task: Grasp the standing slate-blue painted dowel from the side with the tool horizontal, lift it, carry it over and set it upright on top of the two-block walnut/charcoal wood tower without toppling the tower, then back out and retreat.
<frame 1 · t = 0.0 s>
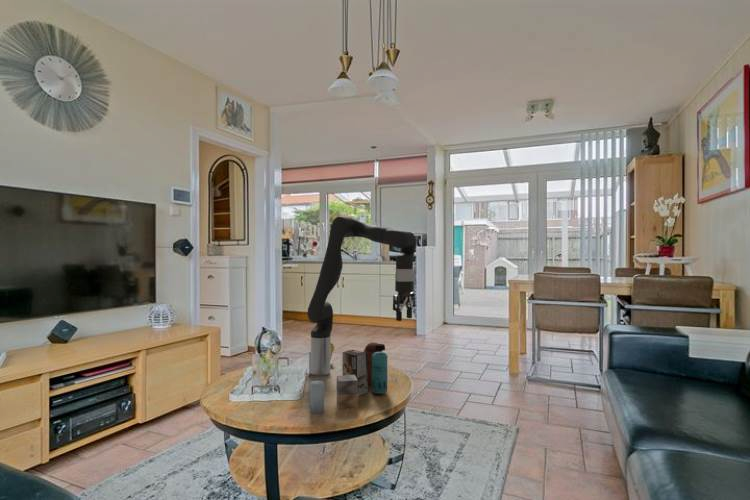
hand: (404, 319, 170), 29 cm above the table, tool pointing down, fingers open, 8 cm apart
beverage bottle: (379, 394, 165), on the table
plant pot: (323, 363, 212), on the table
tower top: (346, 391, 154), point 5 cm above the table, touching tower base
tower base: (347, 404, 154), on the table, touching tower top
wooden figurine: (373, 385, 178), on the table
dowel: (317, 410, 148), on the table
coffee box: (354, 392, 168), on the table
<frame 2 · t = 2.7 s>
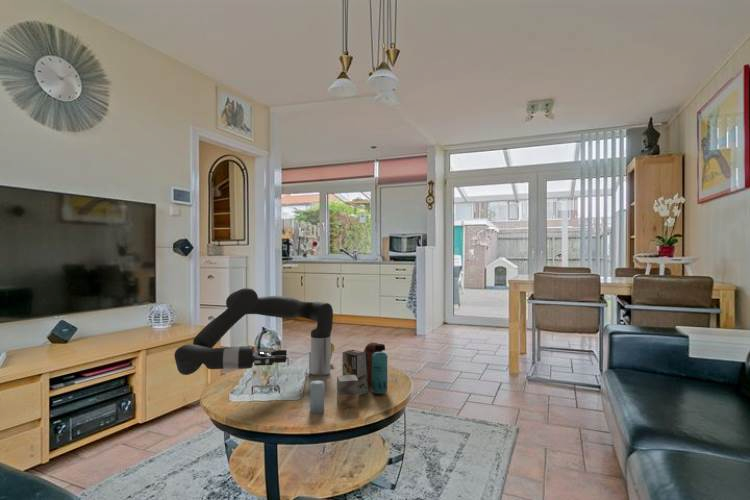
hand: (286, 355, 146), 20 cm above the table, tool horizontal, fingers open, 8 cm apart
nothing on the table moved.
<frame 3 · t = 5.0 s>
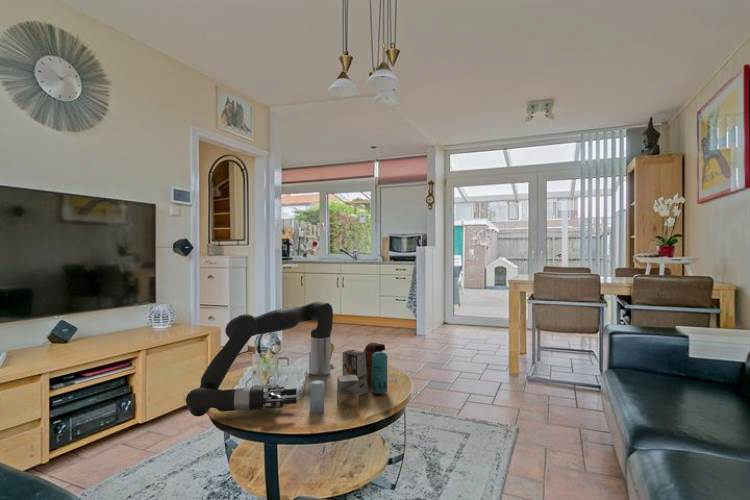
hand: (296, 395, 147), 6 cm above the table, tool horizontal, fingers open, 8 cm apart
nothing on the table moved.
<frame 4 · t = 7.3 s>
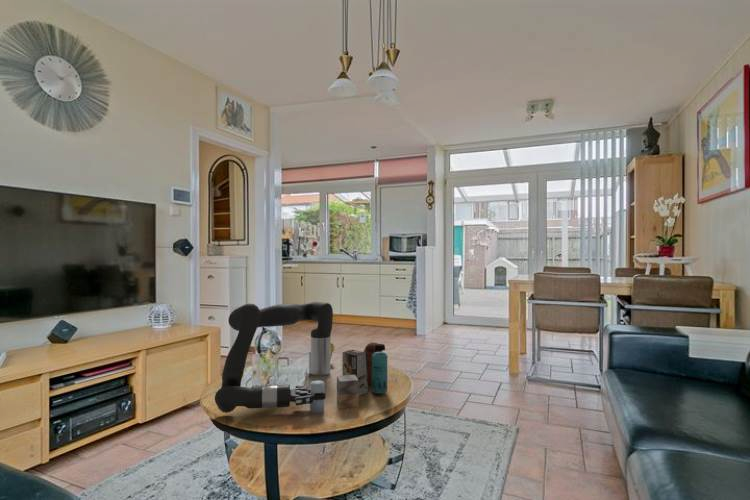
hand: (324, 393, 148), 6 cm above the table, tool horizontal, fingers closed on dowel, 5 cm apart
dowel: (317, 410, 148), on the table, touching gripper
everything else where it was.
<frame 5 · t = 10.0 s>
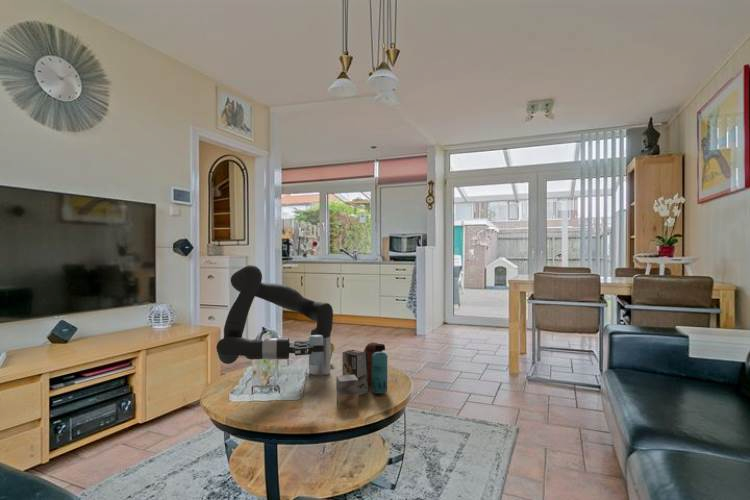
hand: (322, 346, 153), 22 cm above the table, tool horizontal, fingers closed on dowel, 5 cm apart
dowel: (315, 363, 152), point 16 cm above the table, touching gripper
everything else where it was.
when the fingers open (17 cm above the table, at t = 12.8 s): dowel drops 1 cm, resting on tower top.
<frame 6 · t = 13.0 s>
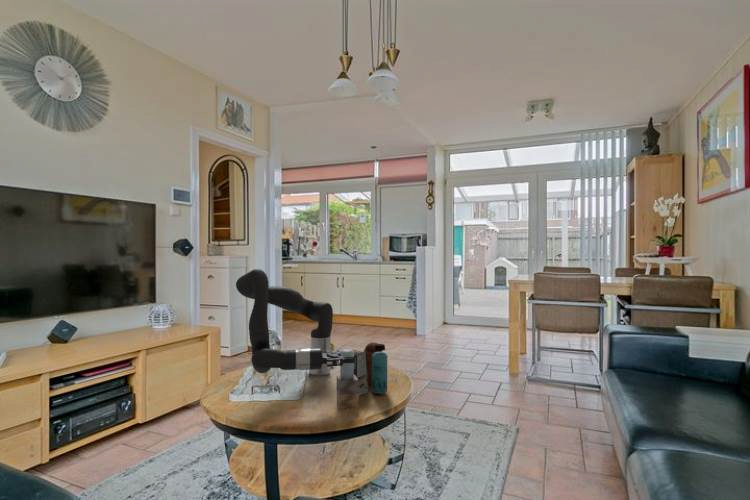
hand: (353, 357, 155), 18 cm above the table, tool horizontal, fingers open, 7 cm apart
tower top: (347, 391, 154), point 5 cm above the table, touching dowel, tower base
dowel: (347, 377, 154), point 10 cm above the table, touching tower top
everything else where it was.
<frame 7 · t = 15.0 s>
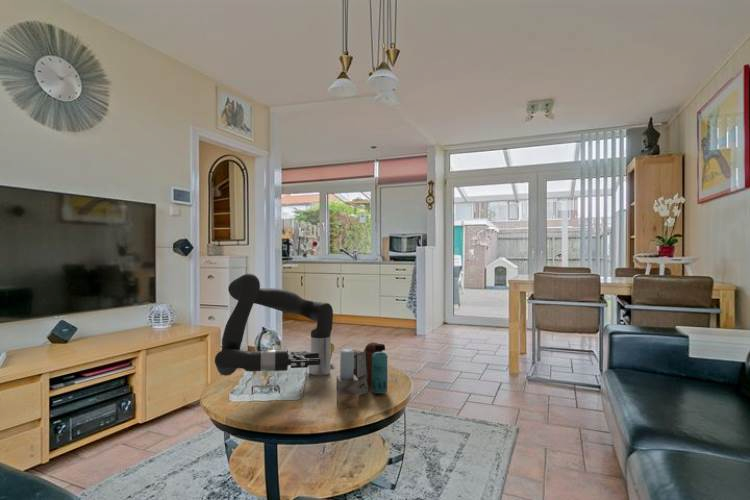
hand: (319, 358, 152), 18 cm above the table, tool horizontal, fingers open, 8 cm apart
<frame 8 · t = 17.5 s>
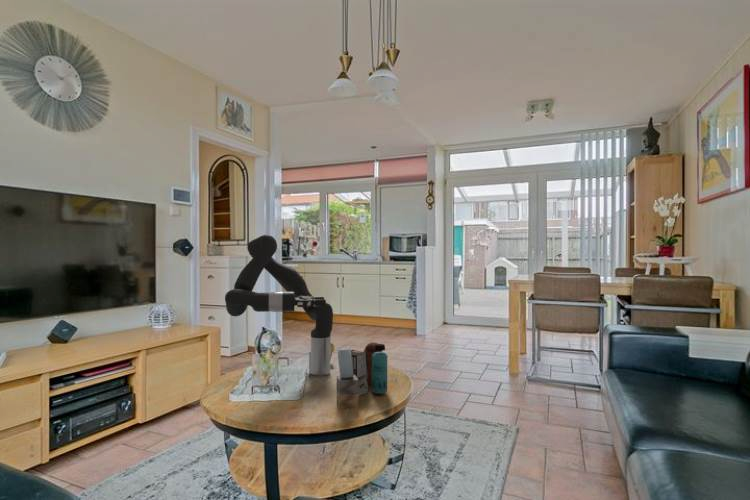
hand: (324, 301, 158), 38 cm above the table, tool horizontal, fingers open, 8 cm apart
dowel: (347, 376, 154), point 10 cm above the table, tilted 11°, touching tower top
everything else where it was.
at the end: dowel 0.2 cm off-centre on the tower top, point 5.3 cm above the tower top's base; dowel tilted 6°; tower top tilted 0° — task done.
